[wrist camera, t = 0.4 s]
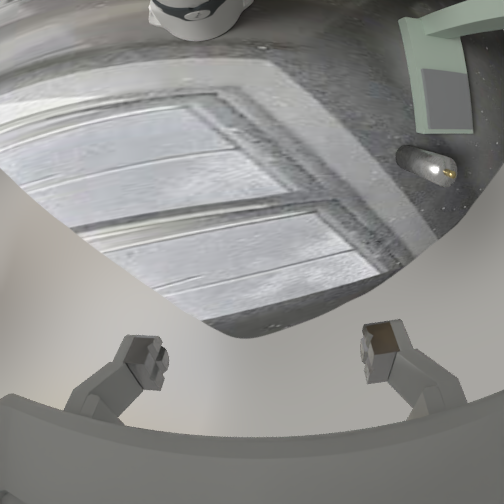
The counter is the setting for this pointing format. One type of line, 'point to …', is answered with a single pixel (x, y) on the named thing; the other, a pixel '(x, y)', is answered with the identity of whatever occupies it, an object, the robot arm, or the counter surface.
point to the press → (445, 63)
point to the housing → (427, 165)
